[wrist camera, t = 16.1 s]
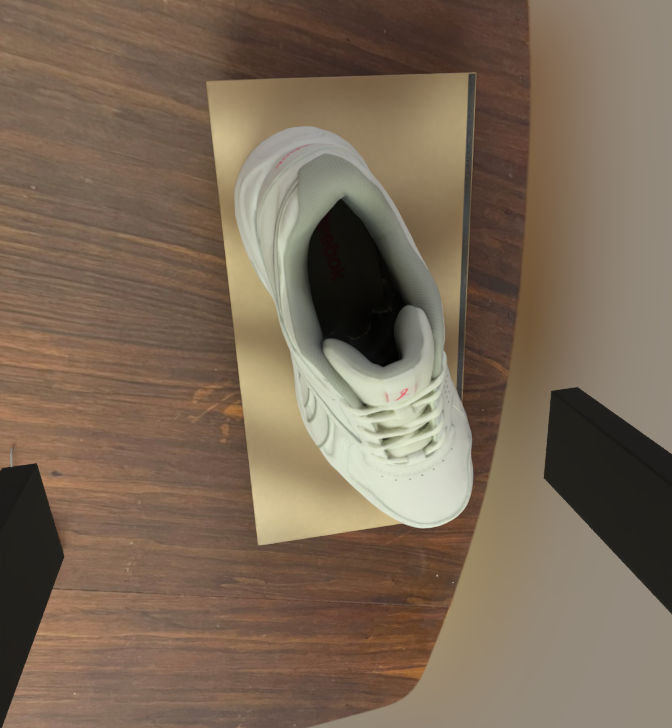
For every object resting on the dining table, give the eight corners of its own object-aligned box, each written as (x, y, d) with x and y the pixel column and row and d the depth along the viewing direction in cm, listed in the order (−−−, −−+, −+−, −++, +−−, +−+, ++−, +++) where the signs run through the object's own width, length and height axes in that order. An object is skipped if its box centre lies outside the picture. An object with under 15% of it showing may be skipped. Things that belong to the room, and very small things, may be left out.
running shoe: (356, 516, 45) (408, 660, 33) (172, 183, 34) (147, 212, 22) (479, 454, 45) (577, 575, 33) (335, 102, 34) (402, 85, 22)
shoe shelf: (207, 86, 37) (205, 80, 33) (447, 79, 40) (476, 72, 35) (254, 507, 49) (258, 546, 45) (436, 481, 52) (457, 515, 47)
